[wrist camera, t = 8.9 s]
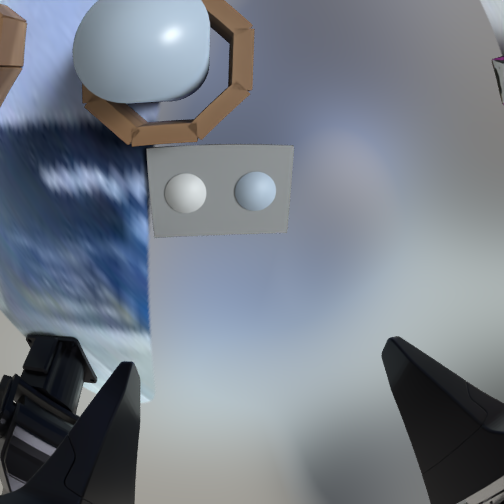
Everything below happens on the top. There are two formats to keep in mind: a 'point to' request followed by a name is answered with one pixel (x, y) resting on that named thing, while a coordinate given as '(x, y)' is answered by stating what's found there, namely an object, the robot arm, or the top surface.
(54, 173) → the top surface
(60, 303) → the top surface
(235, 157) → the card
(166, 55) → the grey tube
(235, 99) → the ring
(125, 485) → the robot arm
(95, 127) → the top surface
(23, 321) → the top surface
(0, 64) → the ring
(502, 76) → the candy bar box
